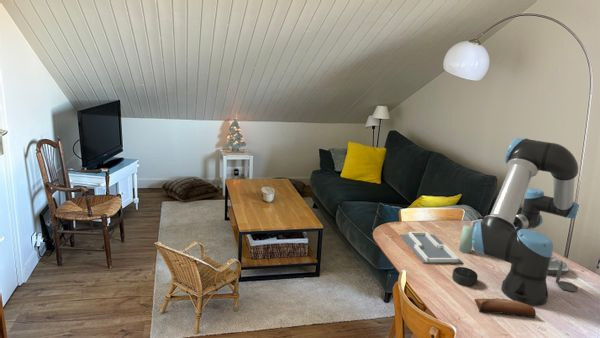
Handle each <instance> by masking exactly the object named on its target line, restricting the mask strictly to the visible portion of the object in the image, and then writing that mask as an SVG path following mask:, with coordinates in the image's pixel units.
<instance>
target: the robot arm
mask: <svg viewBox="0 0 600 338" xmlns="http://www.w3.org/2000/svg"><path fill="white" fill-rule="evenodd" d="M504 161H505V164H506V166H507V169H508V170H507V174H506V175H505V178H504V180H503V183H502V186H501V188H500V190H499V193H498V195H497V198H496V200H495V201H494V204H493V206H492V209H491V212H490V213H489V214H488V215H485V216H478V217H477V219H475V220H471V223H470V226H472V227H474V230H473V236H472V249H473V250H474V251H475V252H476V253H479V254H481V255H483V256H486V257H490V258H493V259H495V260H496V259H497V260H500V261H503V262H506V263H508V264H511V265H510V270H509V272H508V273H507V275H506V276H505V278H504V280H502V282H501V287H500V289H501V291H502V293H503V294H504V295H505V296H506V297H507V298H510V300H513V301H518V302H521V303H524V304H527V305H529V306H543V305H545V304H546V303H547V302H548V297H549V293H548V286H547V276H548V274H547V273H548V268H549V264H550V259H551V257H552V256H553V249H554V243H553V241H552V240H551V239H550V238H549V237H548V236H546V235H545V234H543V233H542V232H541V233H540V232H538V231H536V230H533V229H535V228H537V227H540V226H541V225H542V224H543V222H544V221H543V220H544V219H543V216H542V214H541V212H542V213H546V214H550V215H555V216H559V217H563V218H564V219H565V218H568V219H572V220H573V219H575V218H577V215H578V212H579V208H580V207H579V206H580V204H579V203H577V202H575V201H574V198H575V197H574V195H575V181H576V180H575V178H576V177H577V176H578V173H579V164H578V161H577V159H576V157H575V156H574V155H573V153H572V152H571V151H570V150H569V149H568V148H566V147H565V146H563V145H561V144H559V143H555V142H547V141H542V140H536V139H529V138H526V137H525V138H524V137H522V138H520V137H518V138H515V139H513V140H512V141H511V142H510V144H509V146H508V147H507V150H506V153H505V157H504ZM539 171H542V172H548V173H550V175H551V177H553V178H552V180H553V197H551V196H547V195H545V191H544V190H542V189H538V188H533V187H530V188H528V186H529V185H530V182H531V178H533V177H535V176H537V175H538V173H539ZM522 202H523V204H522ZM521 204H522V210H521V213H519V214H518V212H519V210H520V208H521Z"/></svg>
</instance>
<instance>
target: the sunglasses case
mask: <svg viewBox="0 0 600 338" xmlns="http://www.w3.org/2000/svg"><path fill="white" fill-rule="evenodd" d="M473 302H475V305H476V307H477V309H478V311H479V313H480V312H481V313H491V314H493V313H497V314H506V315H515V316H523V317H531V318H533V319H535V318H536V315H537V312H536V310H535V308H534V307H533V305H528V304H524V303H521V302H518V301H515V300H513V299H507V298H497V297H496V298H474V301H473Z"/></svg>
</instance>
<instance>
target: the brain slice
mask: <svg viewBox="0 0 600 338" xmlns="http://www.w3.org/2000/svg"><path fill="white" fill-rule="evenodd" d="M561 261H562V260H561V259H558V258H557V257H556V256H554V255H552V257H551V259H550V264H549V268H548V273H547V275H555V276H557V273H558V269H559V266H561ZM562 263H563V266H562V272H561V276H562V275H565V274H566V273H568V272H569V269H570V268H569V265H568V264H567V263H566V262H564V261H562Z"/></svg>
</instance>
